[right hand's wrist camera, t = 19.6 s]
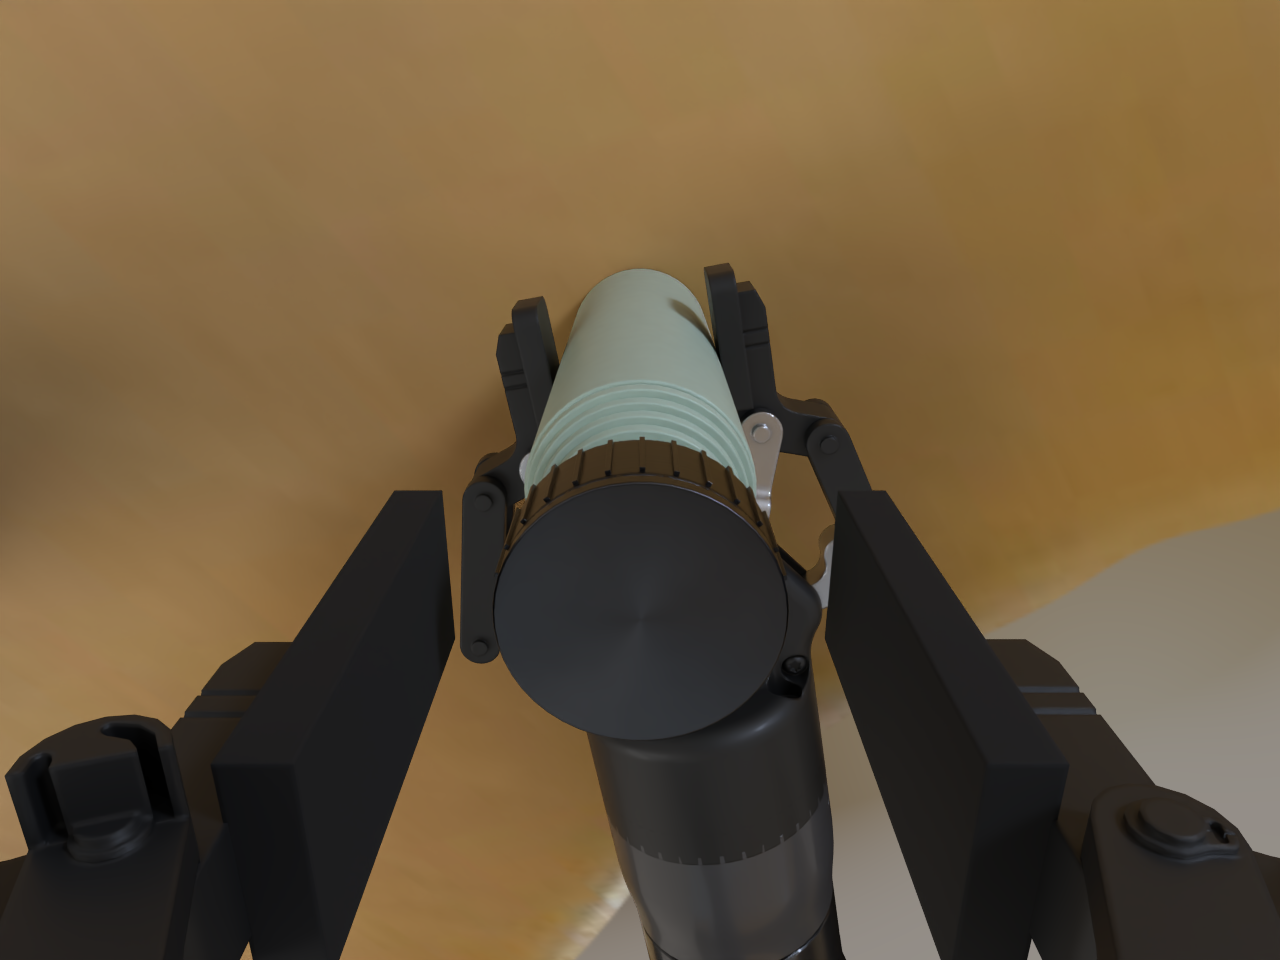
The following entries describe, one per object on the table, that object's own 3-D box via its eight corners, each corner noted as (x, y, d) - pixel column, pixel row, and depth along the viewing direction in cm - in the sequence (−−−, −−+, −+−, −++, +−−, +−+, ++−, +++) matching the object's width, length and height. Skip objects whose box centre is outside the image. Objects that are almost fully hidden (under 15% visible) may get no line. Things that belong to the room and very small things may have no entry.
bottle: (701, 261, 30) (783, 440, 13) (711, 393, 31) (796, 707, 14) (565, 275, 30) (466, 472, 13) (582, 406, 32) (516, 731, 15)
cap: (804, 634, 15) (825, 700, 14) (562, 703, 16) (551, 775, 14) (730, 398, 14) (744, 437, 12) (464, 483, 14) (440, 533, 13)
